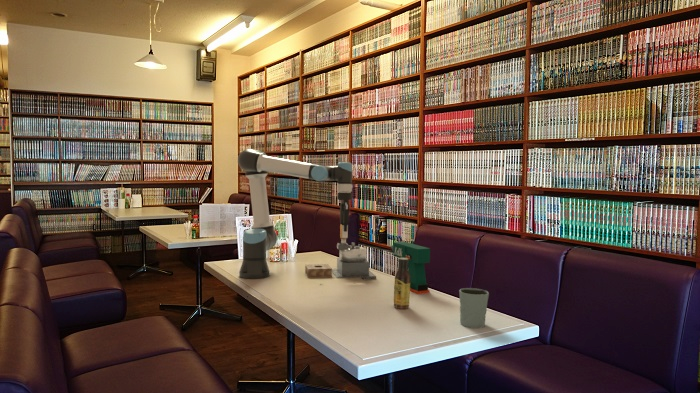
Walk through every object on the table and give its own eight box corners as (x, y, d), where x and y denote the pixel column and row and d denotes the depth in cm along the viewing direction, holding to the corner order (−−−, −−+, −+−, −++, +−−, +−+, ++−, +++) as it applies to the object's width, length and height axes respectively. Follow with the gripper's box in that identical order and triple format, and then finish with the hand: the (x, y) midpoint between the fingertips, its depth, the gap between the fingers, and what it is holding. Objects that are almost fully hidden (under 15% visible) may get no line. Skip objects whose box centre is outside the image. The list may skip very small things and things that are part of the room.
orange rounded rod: (341, 247, 247) (341, 224, 247) (339, 247, 250) (339, 224, 251) (347, 247, 248) (348, 224, 249) (345, 247, 252) (346, 224, 252)
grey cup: (452, 323, 172) (453, 290, 172) (468, 318, 180) (469, 286, 179) (478, 330, 165) (479, 296, 165) (492, 324, 172) (494, 291, 172)
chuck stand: (337, 280, 238) (337, 264, 238) (330, 271, 258) (330, 257, 258) (376, 279, 242) (376, 263, 242) (366, 270, 262) (366, 256, 262)
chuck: (339, 262, 242) (339, 244, 241) (335, 257, 255) (336, 240, 255) (368, 261, 244) (369, 244, 244) (363, 257, 258) (364, 240, 257)
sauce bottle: (390, 305, 194) (392, 257, 193) (404, 304, 196) (406, 256, 195) (398, 310, 188) (399, 259, 187) (412, 309, 190) (413, 259, 189)
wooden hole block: (307, 279, 239) (308, 269, 239) (305, 274, 251) (305, 264, 251) (331, 278, 242) (331, 268, 242) (327, 273, 254) (328, 264, 253)
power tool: (381, 279, 243) (382, 239, 242) (393, 278, 246) (394, 239, 245) (416, 294, 214) (417, 249, 213) (429, 292, 217) (430, 248, 216)
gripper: (355, 192, 241) (354, 239, 242) (348, 191, 258) (348, 235, 259) (340, 192, 240) (339, 239, 241) (334, 191, 257) (334, 235, 257)
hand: (344, 237), depth 250 cm, fingers closed on orange rounded rod, 4 cm apart
